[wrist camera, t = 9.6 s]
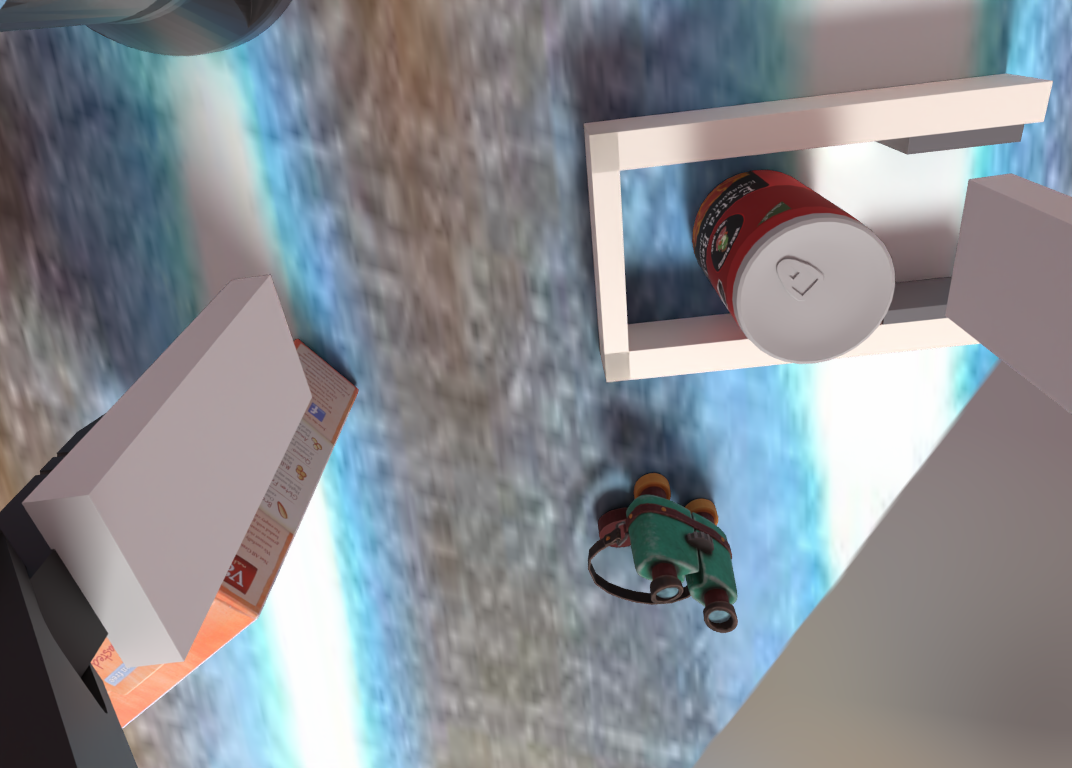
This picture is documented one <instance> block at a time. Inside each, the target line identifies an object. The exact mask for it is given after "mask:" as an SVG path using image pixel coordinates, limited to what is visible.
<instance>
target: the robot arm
mask: <svg viewBox="0 0 1072 768" xmlns="http://www.w3.org/2000/svg"><path fill="white" fill-rule="evenodd" d="M291 1H292V0H0V32H4V31H16V30H28V29H40V28H53V27H65V26H77V25H86V26H87V27H89V28H90V29H92V30H94V31H95V32H97V33H99V34H101V35H103V36H105V37H107V38H109V39H111V40H113V41H115V42H118V43H120V44H123V45H125V46H128V47H131V48H134V49H138V50H141V51H146V52H150V53H155V54H161V55H170V56H193V55H201V54H207V53H213V52H218V51H223V50H227V49H230V48H233V47H236V46H239V45H241V44H243V43H245V42H248V41H250V40H251V39H253V38H255V37H256V36H258V35H259V34H261V33H262V32H264V31H265V30H266V29H267V28H268V27H270V26H271V25H272V24H273V23H274V22H275V21H276V20H277V19H278V18H279V17H280V16H281V15H282V13H283V12H284V11H285V10H286V8H287V7H288V5H289V4H290V2H291ZM945 316H946V317H948V318H949V319H950V320H951V321H953V322H954V323H955V324H956V325H958V326H959V327H960V328H962V329H963V330H964V331H965V332H967V333H968V334H969V335H971V336H972V337H973V338H974V339H976V340H977V341H978V342H979V343H981V344H982V345H983V346H985V347H986V348H987V349H988V350H990V351H991V352H992V353H994V354H995V355H996V356H997V357H999V358H1000V359H1001V360H1002V361H1004V362H1005V363H1006V364H1008V365H1009V366H1010V367H1011V368H1013V369H1014V370H1015V371H1017V372H1018V373H1019V374H1021V375H1022V376H1023V377H1024V378H1026V379H1027V380H1028V381H1029V382H1031V383H1032V384H1033V385H1035V386H1036V387H1037V388H1038V389H1040V390H1041V391H1042V392H1044V393H1045V394H1046V395H1047V396H1049V397H1050V398H1051V399H1053V400H1054V401H1055V402H1056V403H1058V404H1059V405H1060V406H1061V407H1063V408H1064V409H1065V410H1066V411H1068V412H1069V413H1070V414H1072V197H1070V196H1068V195H1065V194H1063V193H1060V192H1057V191H1055V190H1052V189H1050V188H1047V187H1045V186H1042V185H1040V184H1037V183H1034V182H1032V181H1029V180H1027V179H1024V178H1022V177H1019V176H1017V175H1014V174H1004V175H997V176H990V177H982V178H975V179H969V181H968V187H967V193H966V199H965V204H964V210H963V216H962V222H961V227H960V233H959V239H958V245H957V250H956V256H955V262H954V267H953V273H952V279H951V285H950V290H949V296H948V302H947V308H946V313H945ZM311 398H312V395H311V392H310V389H309V386H308V383H307V380H306V377H305V374H304V371H303V368H302V366H301V363H300V360H299V357H298V354H297V351H296V348H295V345H294V342H293V339H292V336H291V333H290V330H289V327H288V324H287V321H286V318H285V316H284V313H283V310H282V307H281V304H280V301H279V298H278V295H277V292H276V289H275V286H274V283H273V280H272V277H271V275H263V276H256V277H249V278H241V279H234V280H231V281H230V282H229V283H228V284H227V285H226V286H225V287H224V288H223V290H222V291H221V292H220V293H219V294H218V295H217V296H216V297H215V298H214V299H213V300H212V301H211V302H210V303H209V304H208V305H207V307H206V308H205V309H204V310H203V311H202V312H201V313H200V314H199V315H198V316H197V317H196V318H195V319H194V320H193V321H192V322H191V324H190V325H189V326H188V327H187V328H186V329H185V330H184V331H183V332H182V333H181V334H180V335H179V336H178V337H177V338H176V339H175V341H174V342H173V343H172V344H171V345H170V346H169V347H168V348H167V349H166V350H165V351H164V352H163V353H162V354H161V355H160V357H159V358H158V359H157V360H156V361H155V362H154V363H153V364H152V365H151V366H150V367H149V368H148V369H147V370H146V371H145V372H144V374H143V375H142V376H141V377H140V378H139V379H138V380H137V381H136V382H135V383H134V384H133V385H132V386H131V387H130V388H129V389H128V391H127V392H126V393H125V394H124V395H123V396H122V397H121V398H120V399H119V400H118V401H117V402H116V403H115V404H114V405H113V406H112V408H111V409H110V410H109V411H108V412H107V413H105V414H104V415H102V416H101V417H99V418H98V419H96V420H95V421H93V422H92V423H90V424H89V425H87V426H86V427H84V428H83V429H81V430H79V431H78V432H77V433H76V434H75V435H74V436H73V437H72V438H71V439H70V440H69V441H68V442H67V443H66V444H65V445H64V446H63V447H62V448H61V449H60V450H59V451H58V453H57V457H53V458H52V459H51V460H50V461H49V462H48V463H47V464H46V465H45V466H44V467H43V468H42V469H41V470H40V475H35V476H34V477H33V478H32V479H31V480H30V482H29V483H28V484H27V485H26V486H25V487H24V488H23V489H22V490H21V491H20V492H19V493H18V494H17V495H16V496H15V497H14V498H13V499H12V500H11V501H10V502H9V503H8V504H7V505H6V506H5V507H4V508H3V509H2V511H1V512H0V768H138V767H137V765H136V762H135V760H134V757H133V755H132V752H131V750H130V747H129V745H128V742H127V740H126V737H125V735H124V732H123V730H122V727H121V725H120V722H119V720H118V717H117V715H116V712H115V710H114V707H113V705H112V703H111V700H110V698H109V695H108V693H107V690H106V688H105V685H104V683H103V680H102V679H101V677H100V676H99V675H98V673H97V672H96V670H95V669H94V667H93V666H92V664H91V661H92V659H93V658H94V656H95V655H96V653H97V651H98V650H99V648H100V647H101V645H102V643H103V642H104V640H105V639H106V637H107V638H108V639H109V641H110V642H111V644H112V646H113V647H114V649H115V650H116V652H117V653H118V655H119V657H120V658H121V660H122V661H123V663H124V664H125V666H126V668H130V667H139V666H148V665H157V664H166V663H174V662H183V661H185V658H186V656H187V654H188V652H189V650H190V648H191V646H192V644H193V642H194V640H195V638H196V636H197V634H198V632H199V630H200V628H201V625H202V623H203V621H204V619H205V617H206V615H207V613H208V611H209V609H210V607H211V605H212V603H213V601H214V599H215V597H216V594H217V592H218V590H219V588H220V586H221V584H222V582H223V580H224V578H225V576H226V574H227V572H228V570H229V568H230V566H231V564H232V561H233V559H234V557H235V555H236V553H237V551H238V549H239V547H240V545H241V543H242V541H243V539H244V537H245V535H246V533H247V530H248V528H249V526H250V524H251V522H252V520H253V518H254V516H255V514H256V512H257V510H258V508H259V506H260V504H261V502H262V499H263V497H264V495H265V493H266V491H267V489H268V487H269V485H270V483H271V481H272V479H273V477H274V475H275V473H276V471H277V469H278V466H279V464H280V462H281V460H282V458H283V456H284V454H285V452H286V450H287V448H288V446H289V444H290V442H291V440H292V438H293V435H294V433H295V431H296V429H297V427H298V425H299V423H300V421H301V419H302V417H303V415H304V413H305V411H306V409H307V407H308V405H309V402H310V400H311Z"/></svg>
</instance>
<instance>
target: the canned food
mask: <svg viewBox="0 0 1072 768" xmlns="http://www.w3.org/2000/svg"><path fill="white" fill-rule="evenodd" d="M692 242H693V248H694V254H695V256H696V259H697V261H698V264H699V265H700V267H701V268H702V270H703V272H704V273H705V275H706V276H707V278H708V279H709V281H710V283H711V284H712V286H713V287H714V289H715V290H716V292H717V293H718V295H719V297H720V298H721V300H722V301H723V303H724V304H725V306H726V307H727V309H728V311H729V312H730V314H731V315H732V317H733V318H734V320H735V321H736V323H737V324H738V326H739V327H740V329H741V330H742V331H743V333H744V334H745V336H746V337H747V338H748V339H749V340H750V341H751V342H752V343H753V344H754V345H755V346H756V347H758V348H759V349H760V350H761V351H763V352H764V353H766V354H768V355H769V356H771V357H773V358H776V359H779V360H782V361H784V362H791V363H797V364H808V363H818V362H823V361H828V360H831V359H834V358H836V357H839V356H842V355H844V354H845V353H847V352H849V351H851V350H853V349H854V348H856V347H857V346H859V345H860V344H861V343H862V342H864V341H865V340H866V339H867V338H869V336H870V335H871V334H872V333H873V332H874V331H875V330H876V329H877V328H878V326H879V325H880V323H881V322H882V320H883V319H884V317H885V315H886V314H887V312H888V309H889V307H890V304H891V302H892V299H893V293H894V288H895V270H894V266H893V262H892V258H891V256H890V254H889V252H888V250H887V248H886V247H885V245H884V244H883V242H882V241H881V240H880V239H879V238H878V237H877V236H876V235H875V234H874V232H873V231H872V230H871V229H869V228H868V227H866V226H865V225H864V224H862V223H861V222H860V221H858V220H857V219H855V218H854V217H853V216H851V215H850V214H848V213H847V212H845V211H844V210H842V209H840V208H839V207H837V206H836V205H834V204H833V203H831V202H830V201H828V200H827V199H825V198H824V197H822V196H821V195H819V194H818V193H816V192H814V191H813V190H811V189H810V188H808V187H807V186H805V185H804V184H802V183H801V182H799V181H798V180H796V179H795V178H793V177H791V176H789V175H786V174H784V173H782V172H777V171H772V170H753V171H749V172H744V173H740V174H738V175H735V176H733V177H731V178H728V179H727V180H725V181H724V182H722V183H721V184H719V185H718V186H717V187H716V188H715V189H713V190H712V191H711V192H710V193H709V194H708V196H707V197H706V199H705V200H704V201H703V203H702V204H701V207H700V209H699V211H698V213H697V215H696V219H695V223H694V227H693V239H692Z"/></svg>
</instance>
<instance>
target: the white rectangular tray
mask: <svg viewBox="0 0 1072 768" xmlns="http://www.w3.org/2000/svg"><path fill="white" fill-rule="evenodd" d="M1052 83H1053V81H1050V80H1044V79H1037V78H1031V77H1025V76H1019V75H1013V74H998V75H989V76H981V77H972V78H964V79H955V80H947V81H938V82H930V83H921V84H913V85H904V86H896V87H887V88H879V89H870V90H862V91H853V92H845V93H837V94H828V95H820V96H811V97H803V98H794V99H786V100H777V101H769V102H760V103H752V104H743V105H735V106H726V107H718V108H709V109H701V110H692V111H684V112H675V113H667V114H659V115H650V116H642V117H633V118H625V119H616V120H608V121H599V122H591V123H584V136H585V150H586V164H587V177H588V191H589V205H590V219H591V232H592V246H593V260H594V273H595V287H596V301H597V315H598V328H599V342H600V355H601V359H602V364H603V368H604V373H605V378H606V382H615V381H624V380H634V379H643V378H653V377H663V376H672V375H682V374H692V373H701V372H711V371H720V370H730V369H740V368H749V367H759V366H768V365H778V364H788V363H791V362H784V361H782V360H779V359H776V358H773V357H771V356H769V355H768V354H766V353H764V352H763V351H761V350H760V349H759V348H758V347H756V346H755V345H754V344H753V343H752V342H751V341H750V340H749V339H748V338H747V337H746V336H745V334H744V333H743V331H742V330H741V329H740V327H739V326H738V324H737V323H736V321H735V320H734V318H733V317H732V315H731V314H730V313H729V314H719V315H710V316H701V317H691V318H682V319H673V320H663V321H654V322H645V323H635V324H627V305H626V286H625V266H624V247H623V227H622V207H621V188H620V170H628V169H637V168H646V167H654V166H663V165H672V164H680V163H689V162H698V161H706V160H715V159H724V158H732V157H741V156H750V155H758V154H767V153H776V152H784V151H793V150H802V149H810V148H819V147H828V146H837V145H845V144H854V143H863V142H871V141H876V142H878V143H881V144H883V145H886V146H888V147H891V148H893V149H895V150H898V151H900V152H903V153H905V154H915V153H924V152H932V151H941V150H950V149H959V148H967V147H976V146H985V145H994V144H1002V143H1011V142H1020V141H1021V137H1022V133H1023V128H1024V124H1027V123H1036V122H1044V118H1045V113H1046V109H1047V105H1048V100H1049V96H1050V91H1051V87H1052ZM951 279H952V277H946V278H937V279H928V280H919V281H909V282H900V283H895V288H894V293H893V299H892V302H891V304H890V307H889V309H888V312H887V314H886V315H885V317H884V319H883V320H882V322H881V323H880V325H879V326H878V328H877V329H876V330H875V331H874V332H873V333H872V334H871V335H870V336H869V338H867V339H866V340H865V341H864V342H862V343H861V344H860V345H859V346H857V347H856V348H854V349H853V350H851V351H849V352H847V353H845V354H844V355H842V356H839V357H836V358H845V357H855V356H864V355H874V354H884V353H893V352H903V351H913V350H922V349H932V348H941V347H951V346H961V345H970V344H980V343H979V342H978V341H977V340H976V339H974V338H973V337H972V336H971V335H969V334H968V333H967V332H965V331H964V330H963V329H962V328H960V327H959V326H958V325H956V324H955V323H954V322H953V321H951V320H950V319H949V318H948V317H946V316H945V313H946V308H947V302H948V296H949V290H950V285H951ZM836 358H834V359H836Z"/></svg>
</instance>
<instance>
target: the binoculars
mask: <svg viewBox="0 0 1072 768" xmlns="http://www.w3.org/2000/svg"><path fill="white" fill-rule="evenodd" d="M670 497H671V492H670V486H669V482H668V480H667V479H666V478H665V477H664V476H662V475H661V474H657V473H649V474H646V475H644V476H642V477H641V478H640V479H638V481H637V482H636V484H635V487H634V498H635V500H634V501H633V502H632V503H631V504H630V506H629V507H628V508H619V509H614V510H612V511H609V512H607V513H605V514H604V515H602V516H601V518H600V519H599V521H598V528H599V537H600V540H599V541H597V542H596V543H595V544H594V545H593V546H592V547H591V548H590V549H589V556H588V570H589V572H590V574H591V576H592V579H593V581H594V583H595V584H596V585H597V586H599V587H600V588H601V589H603V590H604V591H606V592H607V593H609V594H611V595H614V596H616V597H619V598H621V599H625V600H629V601H632V602H636V603H644V604H651V605H653V604H666V603H674V602H677V601H680V600H683V599H686V598H688V597H690V596H692V598H694V599H695V600H696V601H698V602H699V603H701V604H702V605H704V606H705V608H704V610H703V614H704V621H705V623H706V625H707V626H708V627H709V628H710V629H712V630H713V631H716V632H720V633H727V632H730V631H732V630H734V629H735V628H736V626H737V623H738V620H737V616H736V612H735V609H734V607H733V605H732V604H734V603H735V602H736V600H737V589H736V583H735V578H734V572H733V567H732V562H731V559H732V553H731V549H730V545H729V544H728V542H727V538H726V535H725V534H724V532H723V531H722V530H721V529H720V528H719V527H717V526H716V525H717V523H718V515H717V511H716V508H715V505H714V504H713V503H712V502H711V501H710V500H707V499H696V500H693V501H691V502H690V503H688V504H687V505H686V506H685V507H683V506H681V505H679V504H677V503H675V502H673V501H670ZM630 545H631V548H632V553H633V559H634V564H635V568H636V571H637V573H638V575H639V576H641V577H643V578H646V579H648V580H651V581H652V582H651V584H650V592H651V593H643V592H636V591H632V590H628V589H624V588H621V587H619V586H616V585H614V584H611V583H609V582H607V581H606V580H604V579H603V578H602V577H600V576H599V575H598V574H596V572H595V570H594V568H593V566H592V564H591V559H592V558H593V557H594V556H595V555H596V554H597V553H598V552H599V551H601V550H603V549H605V548H606V547H608V546H611V547H626V546H630ZM685 577H686V581H687V586H686V587H683V586H682V583H683V581H684V579H685Z"/></svg>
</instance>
